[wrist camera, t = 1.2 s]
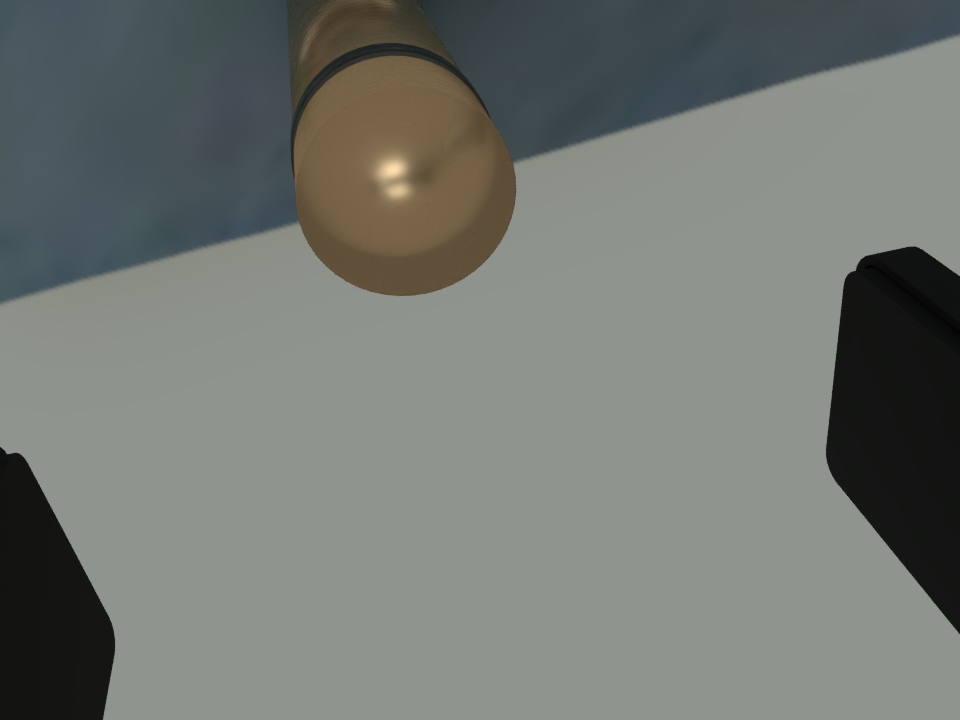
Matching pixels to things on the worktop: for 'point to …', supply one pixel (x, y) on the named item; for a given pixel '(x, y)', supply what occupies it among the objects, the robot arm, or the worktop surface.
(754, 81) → the worktop surface
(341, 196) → the thermos bottle
